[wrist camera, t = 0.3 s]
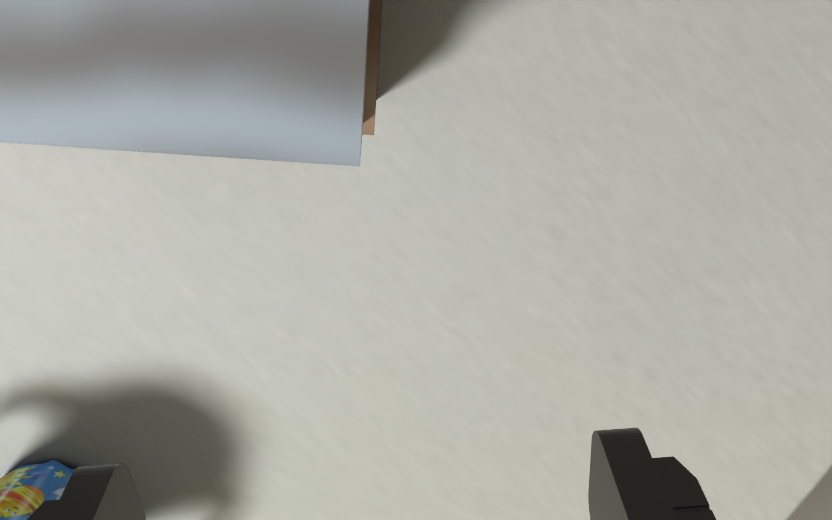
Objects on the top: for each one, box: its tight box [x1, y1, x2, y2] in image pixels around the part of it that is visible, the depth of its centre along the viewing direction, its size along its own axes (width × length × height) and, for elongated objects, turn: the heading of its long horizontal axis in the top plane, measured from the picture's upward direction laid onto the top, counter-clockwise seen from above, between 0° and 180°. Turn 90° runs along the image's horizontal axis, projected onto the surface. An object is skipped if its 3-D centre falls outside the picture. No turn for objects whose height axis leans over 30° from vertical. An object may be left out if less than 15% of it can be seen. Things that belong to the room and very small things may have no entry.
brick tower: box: [0, 0, 382, 166], centre depth 31 cm, size 10×15×10 cm, turn 85°
